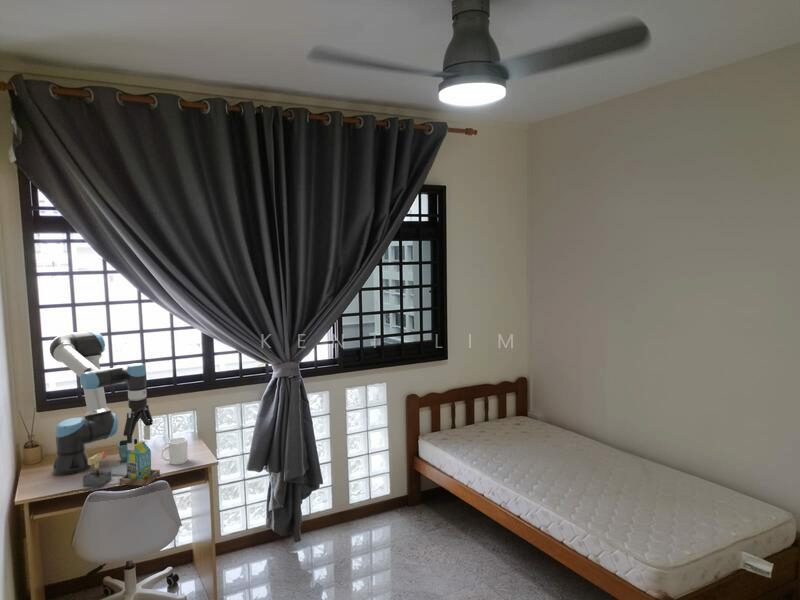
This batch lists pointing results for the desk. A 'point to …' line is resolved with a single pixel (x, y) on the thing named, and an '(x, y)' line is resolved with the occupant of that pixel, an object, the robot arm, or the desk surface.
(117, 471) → the mat
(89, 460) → the key
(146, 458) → the carton
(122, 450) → the flower pot
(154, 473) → the frame
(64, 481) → the desk surface
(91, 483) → the block
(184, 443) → the mug
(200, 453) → the desk surface
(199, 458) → the desk surface
